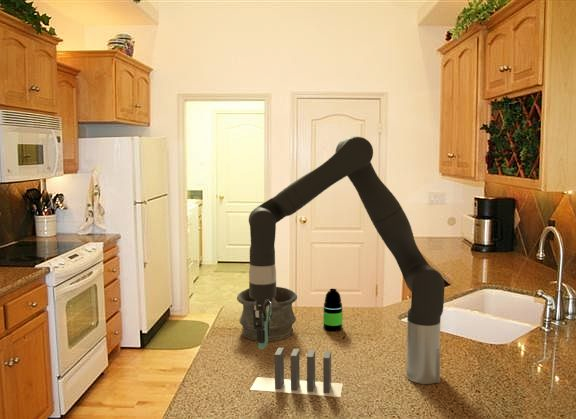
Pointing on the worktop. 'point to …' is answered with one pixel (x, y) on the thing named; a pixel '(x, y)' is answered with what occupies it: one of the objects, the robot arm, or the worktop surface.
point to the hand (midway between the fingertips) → (263, 338)
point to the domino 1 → (263, 345)
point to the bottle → (332, 311)
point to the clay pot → (280, 314)
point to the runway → (269, 385)
